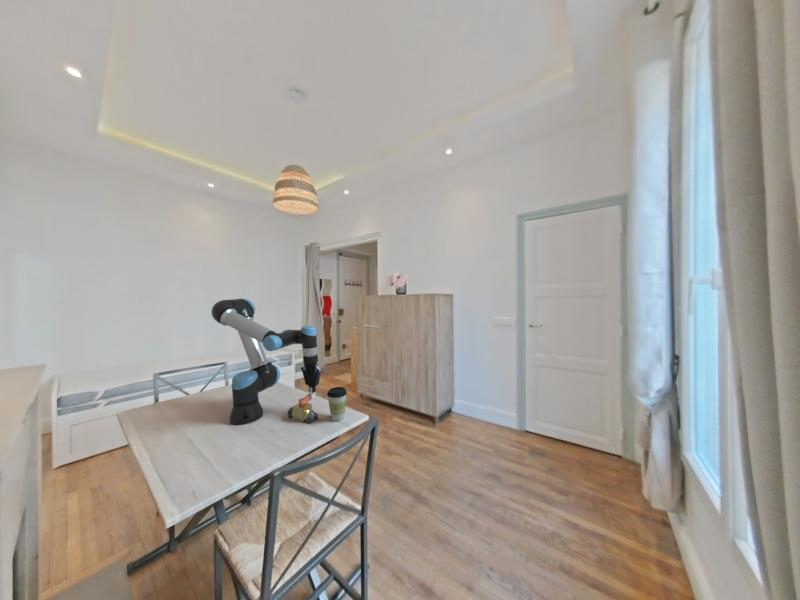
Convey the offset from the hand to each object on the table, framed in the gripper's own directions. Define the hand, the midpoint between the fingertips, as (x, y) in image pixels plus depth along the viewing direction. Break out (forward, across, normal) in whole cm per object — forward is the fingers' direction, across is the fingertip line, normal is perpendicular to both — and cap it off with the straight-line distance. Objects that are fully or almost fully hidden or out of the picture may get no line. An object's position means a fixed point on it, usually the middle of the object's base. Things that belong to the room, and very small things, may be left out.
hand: (312, 398), depth 147 cm
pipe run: (+8, 0, -7) cm, 11 cm away
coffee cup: (+9, +16, 0) cm, 19 cm away
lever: (+1, -1, -2) cm, 3 cm away
